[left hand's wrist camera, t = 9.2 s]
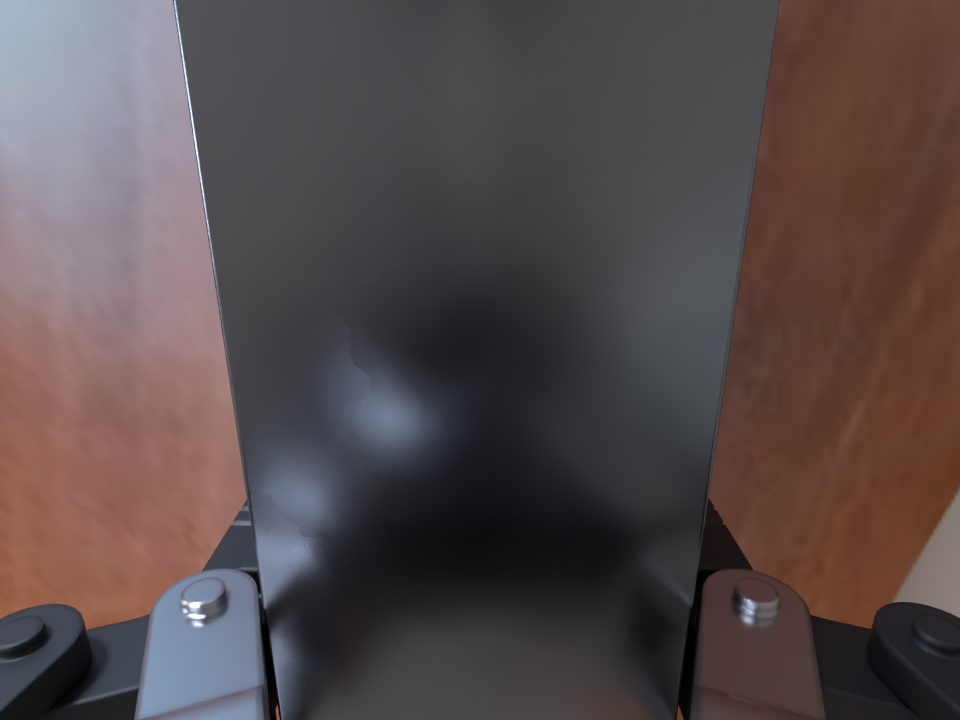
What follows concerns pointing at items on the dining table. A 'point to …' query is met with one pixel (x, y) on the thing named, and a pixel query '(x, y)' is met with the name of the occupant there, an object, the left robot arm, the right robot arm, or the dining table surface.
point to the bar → (477, 334)
